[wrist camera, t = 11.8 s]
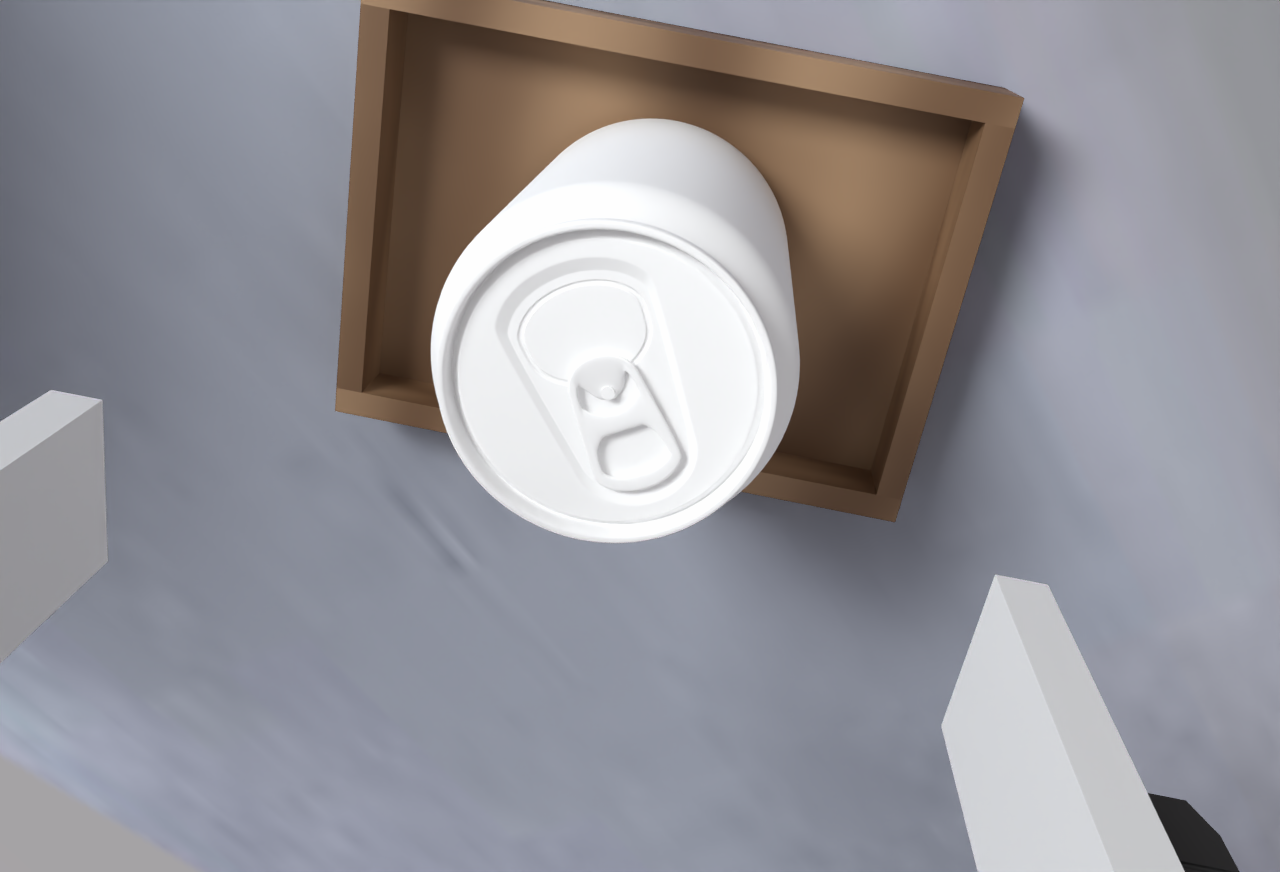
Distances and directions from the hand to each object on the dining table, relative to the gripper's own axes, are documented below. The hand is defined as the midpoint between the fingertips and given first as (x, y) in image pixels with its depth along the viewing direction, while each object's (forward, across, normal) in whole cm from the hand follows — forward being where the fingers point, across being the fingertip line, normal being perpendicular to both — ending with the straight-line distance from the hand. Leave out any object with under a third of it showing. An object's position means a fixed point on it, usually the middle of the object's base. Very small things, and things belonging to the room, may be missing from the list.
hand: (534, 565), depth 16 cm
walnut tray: (+20, 0, 0) cm, 20 cm away
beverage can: (+19, 0, 0) cm, 19 cm away
